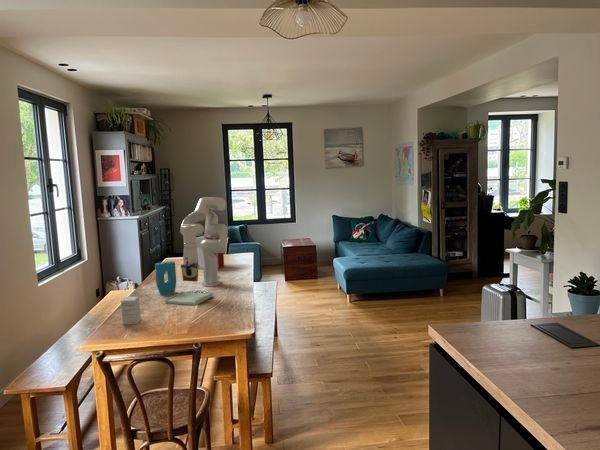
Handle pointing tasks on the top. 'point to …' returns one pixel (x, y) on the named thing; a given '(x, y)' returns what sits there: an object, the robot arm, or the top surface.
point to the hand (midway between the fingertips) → (192, 274)
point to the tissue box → (198, 242)
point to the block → (160, 282)
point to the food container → (194, 273)
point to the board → (188, 298)
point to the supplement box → (130, 310)
